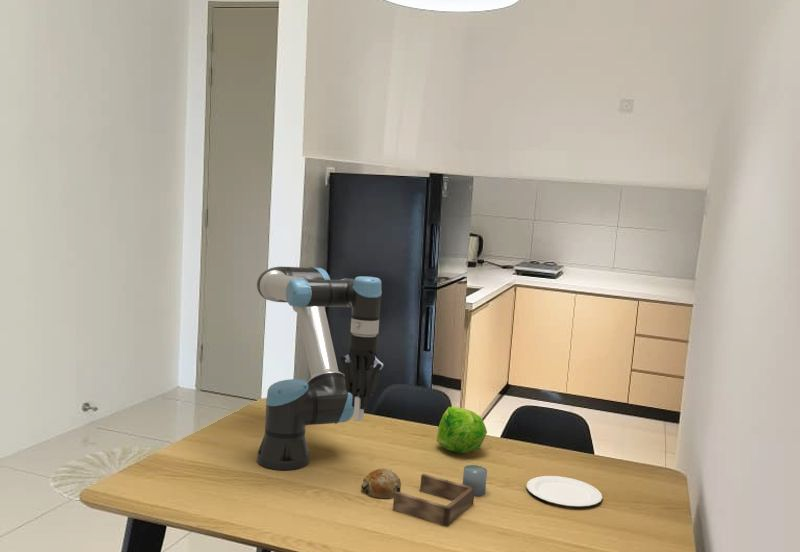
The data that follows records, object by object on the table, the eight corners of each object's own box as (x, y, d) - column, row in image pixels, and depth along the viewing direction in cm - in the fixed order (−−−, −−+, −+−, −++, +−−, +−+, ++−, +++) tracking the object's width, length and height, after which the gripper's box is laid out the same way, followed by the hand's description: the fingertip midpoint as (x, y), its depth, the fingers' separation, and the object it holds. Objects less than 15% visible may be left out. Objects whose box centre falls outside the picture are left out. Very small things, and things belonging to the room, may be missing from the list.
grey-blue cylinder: (458, 492, 196) (460, 469, 195) (467, 485, 201) (469, 463, 201) (479, 498, 193) (481, 475, 192) (488, 491, 198) (490, 468, 198)
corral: (392, 509, 182) (394, 492, 181) (422, 489, 196) (423, 473, 195) (447, 526, 174) (448, 508, 174) (473, 504, 189) (474, 487, 188)
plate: (603, 489, 207) (604, 484, 207) (599, 517, 187) (600, 511, 187) (531, 475, 214) (532, 470, 213) (520, 501, 194) (520, 495, 194)
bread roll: (387, 514, 187) (402, 489, 186) (354, 492, 189) (369, 468, 187) (395, 499, 197) (409, 476, 196) (363, 479, 198) (377, 455, 197)
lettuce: (469, 440, 242) (484, 404, 239) (479, 470, 223) (495, 432, 220) (429, 427, 240) (443, 392, 237) (434, 457, 221) (450, 419, 218)
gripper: (336, 332, 192) (330, 417, 195) (378, 339, 186) (371, 427, 188) (351, 329, 199) (345, 411, 201) (392, 336, 193) (385, 421, 195)
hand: (358, 419), depth 195 cm, fingers closed
